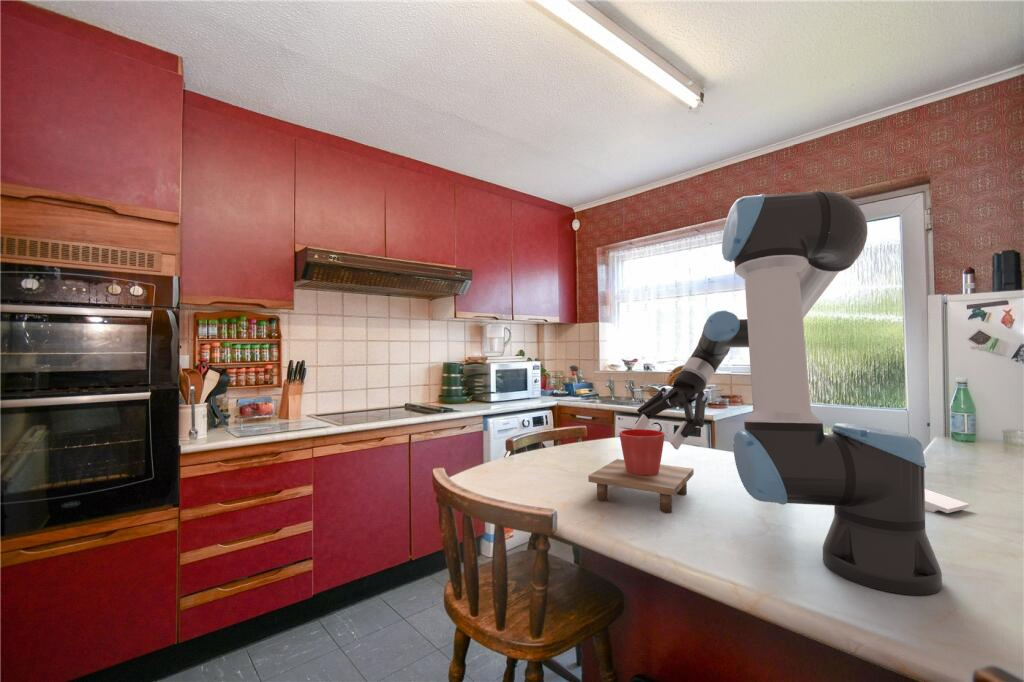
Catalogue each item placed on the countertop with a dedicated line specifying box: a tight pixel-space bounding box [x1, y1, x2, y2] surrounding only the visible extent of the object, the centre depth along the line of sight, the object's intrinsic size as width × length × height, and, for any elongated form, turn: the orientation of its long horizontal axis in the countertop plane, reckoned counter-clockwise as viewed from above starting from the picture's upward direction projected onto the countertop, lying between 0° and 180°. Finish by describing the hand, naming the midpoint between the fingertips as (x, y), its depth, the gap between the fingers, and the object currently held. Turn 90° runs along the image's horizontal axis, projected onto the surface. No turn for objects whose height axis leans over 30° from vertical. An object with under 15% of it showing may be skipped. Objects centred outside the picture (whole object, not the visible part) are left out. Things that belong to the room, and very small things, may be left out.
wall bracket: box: [925, 488, 970, 514], centre depth 115 cm, size 10×7×28 cm
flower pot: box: [619, 428, 665, 475], centre depth 115 cm, size 11×11×10 cm
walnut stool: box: [587, 458, 695, 514], centre depth 114 cm, size 20×20×6 cm
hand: (652, 441), depth 116 cm, fingers open, 13 cm apart
